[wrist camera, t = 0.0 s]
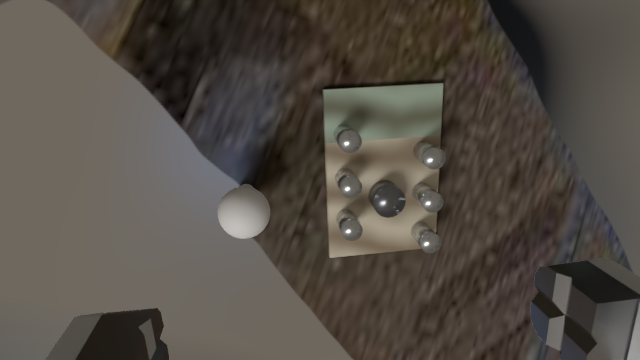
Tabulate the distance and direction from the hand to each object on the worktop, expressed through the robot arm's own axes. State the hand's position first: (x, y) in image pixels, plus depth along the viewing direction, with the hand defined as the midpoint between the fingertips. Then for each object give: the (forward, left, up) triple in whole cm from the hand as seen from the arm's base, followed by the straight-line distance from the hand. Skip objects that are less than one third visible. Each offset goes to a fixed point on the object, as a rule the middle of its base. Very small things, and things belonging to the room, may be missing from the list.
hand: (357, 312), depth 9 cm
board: (+12, +14, -48) cm, 51 cm away
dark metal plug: (+15, +14, -47) cm, 52 cm away
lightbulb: (+13, -5, -48) cm, 50 cm away
